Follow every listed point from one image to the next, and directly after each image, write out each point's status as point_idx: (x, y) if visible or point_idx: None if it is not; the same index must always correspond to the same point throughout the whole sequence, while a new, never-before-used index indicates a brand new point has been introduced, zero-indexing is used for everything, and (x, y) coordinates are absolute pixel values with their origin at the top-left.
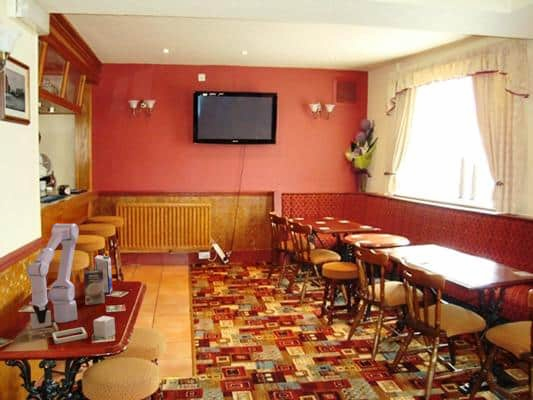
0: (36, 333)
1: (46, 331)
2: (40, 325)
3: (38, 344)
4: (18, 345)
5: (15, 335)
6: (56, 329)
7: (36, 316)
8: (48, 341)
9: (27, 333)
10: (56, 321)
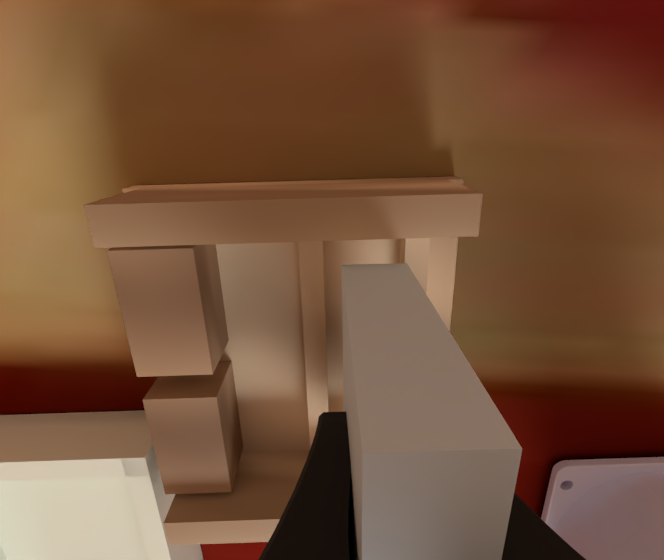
0: (163, 305)
1: (190, 418)
2: (344, 397)
3: (42, 275)
4: (91, 34)
5: (553, 12)
6: (168, 520)
7: (354, 507)
8: (103, 370)
9: (414, 182)
10: (618, 494)
